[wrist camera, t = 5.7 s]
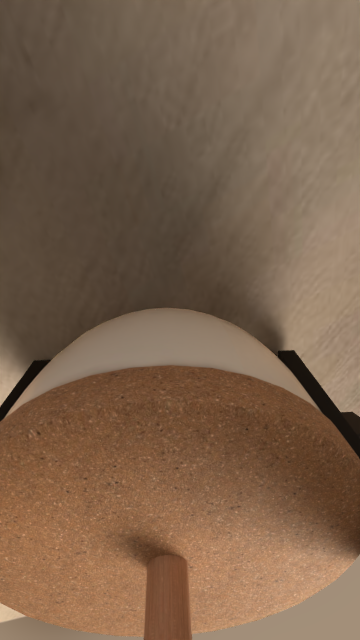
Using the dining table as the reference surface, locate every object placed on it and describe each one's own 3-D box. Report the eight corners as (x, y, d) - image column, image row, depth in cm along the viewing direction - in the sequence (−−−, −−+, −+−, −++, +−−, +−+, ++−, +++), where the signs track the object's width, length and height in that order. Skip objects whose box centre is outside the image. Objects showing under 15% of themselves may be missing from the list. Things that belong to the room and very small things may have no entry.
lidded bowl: (42, 423, 15) (-109, 719, 7) (81, 232, 11) (-204, 405, 2) (220, 460, 17) (272, 724, 9) (313, 312, 13) (587, 557, 5)
